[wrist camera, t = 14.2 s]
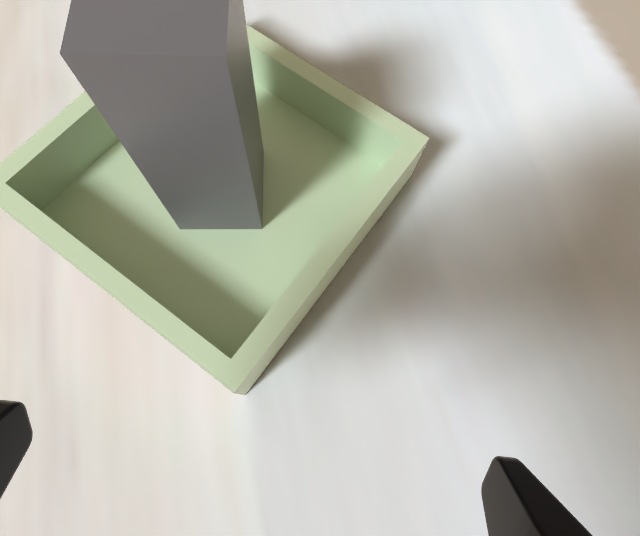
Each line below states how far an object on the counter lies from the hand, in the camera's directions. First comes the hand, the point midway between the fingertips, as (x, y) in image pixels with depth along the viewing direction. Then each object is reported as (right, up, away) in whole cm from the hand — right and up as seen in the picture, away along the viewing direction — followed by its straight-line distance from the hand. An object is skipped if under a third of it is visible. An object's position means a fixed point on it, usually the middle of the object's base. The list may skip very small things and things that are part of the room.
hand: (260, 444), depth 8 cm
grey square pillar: (-4, +8, +16) cm, 18 cm away
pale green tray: (-4, +8, +17) cm, 19 cm away
